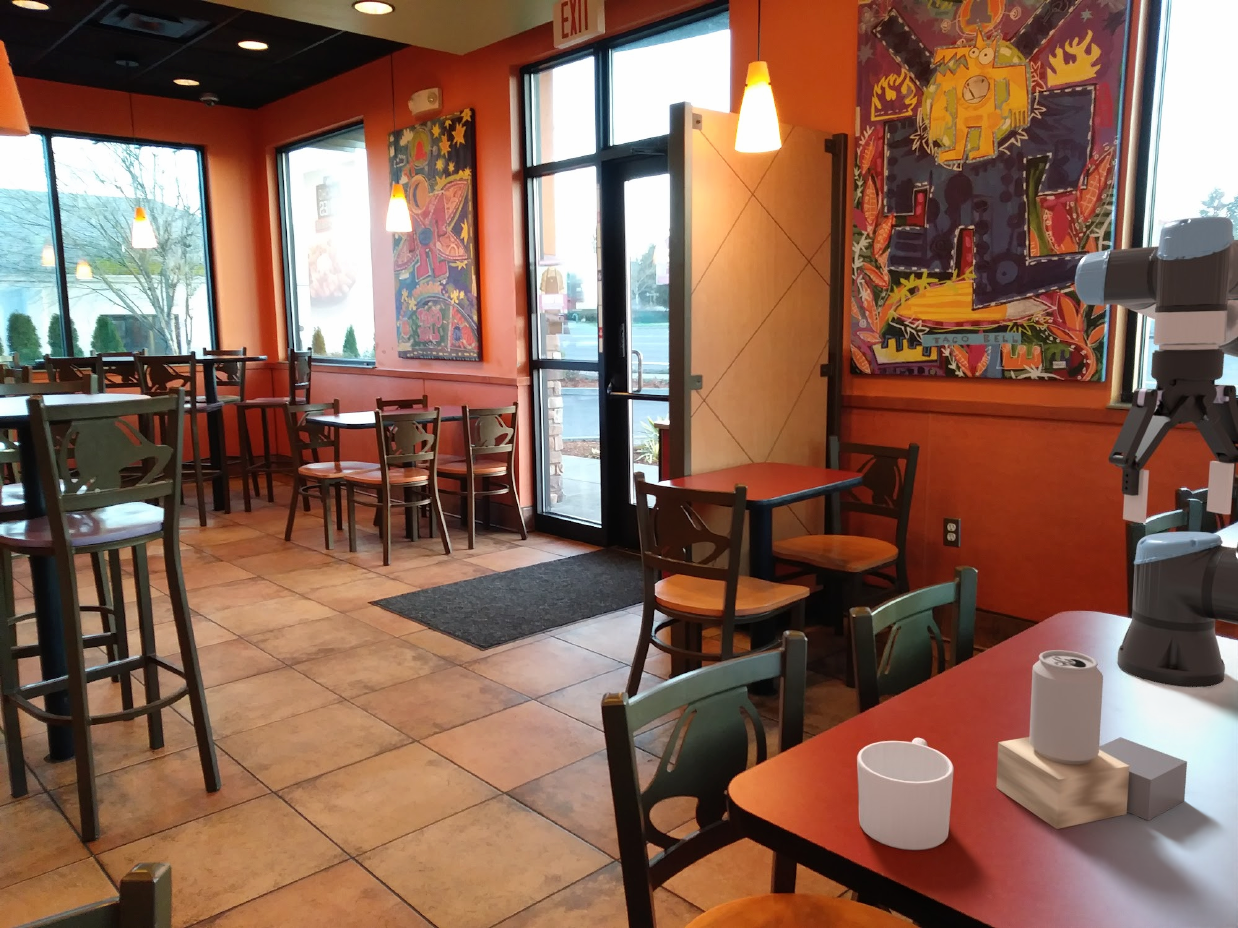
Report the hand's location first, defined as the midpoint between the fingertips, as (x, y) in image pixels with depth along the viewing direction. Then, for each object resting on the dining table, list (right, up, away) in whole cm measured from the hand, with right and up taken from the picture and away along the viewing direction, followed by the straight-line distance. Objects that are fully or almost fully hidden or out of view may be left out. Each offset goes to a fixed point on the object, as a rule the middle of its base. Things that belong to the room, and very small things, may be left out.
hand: (1176, 516), depth 113 cm
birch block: (-17, -34, -5) cm, 39 cm away
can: (-17, -28, -6) cm, 34 cm away
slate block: (-8, -34, -4) cm, 35 cm away
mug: (-37, -35, -9) cm, 52 cm away
